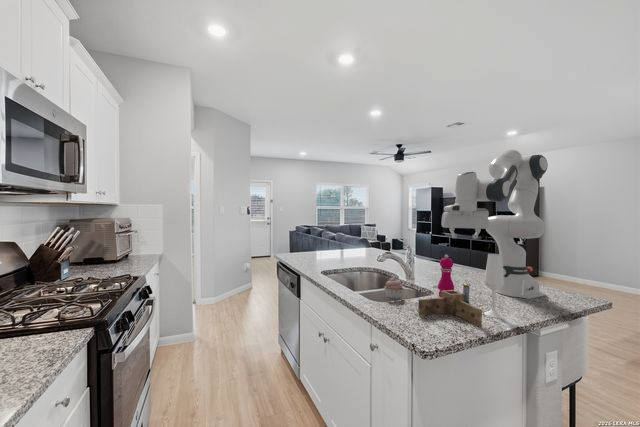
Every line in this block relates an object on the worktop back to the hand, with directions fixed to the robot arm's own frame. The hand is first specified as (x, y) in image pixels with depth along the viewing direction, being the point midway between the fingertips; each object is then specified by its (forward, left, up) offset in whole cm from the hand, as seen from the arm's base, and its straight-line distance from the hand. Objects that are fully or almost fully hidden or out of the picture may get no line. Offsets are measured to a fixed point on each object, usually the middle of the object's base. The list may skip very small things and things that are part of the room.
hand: (464, 238), depth 132 cm
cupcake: (+28, -12, -29) cm, 42 cm away
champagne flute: (0, +17, -29) cm, 33 cm away
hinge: (+20, +16, -29) cm, 39 cm away
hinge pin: (0, +2, -29) cm, 29 cm away
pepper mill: (+2, -9, -29) cm, 30 cm away
